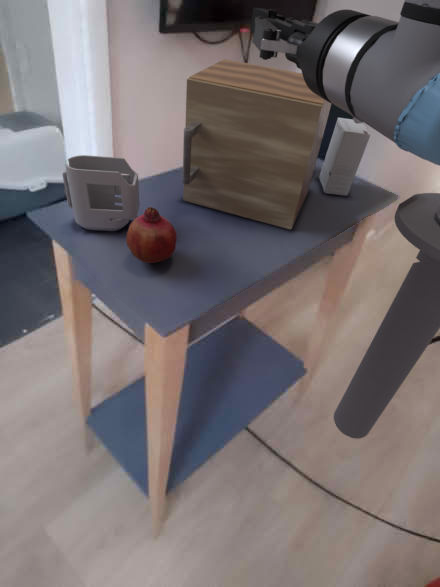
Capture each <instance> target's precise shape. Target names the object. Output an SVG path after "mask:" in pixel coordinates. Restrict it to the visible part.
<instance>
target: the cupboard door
mask: <svg viewBox="0 0 440 587" xmlns="http://www.w3.org/2000/svg"><path fill="white" fill-rule="evenodd" d="M185 94H186V95H185V97H186V98H185V126H184V128H183V143H182V144H183V146H182V147H183V149H182V180H181V181H182V182H181V183H182V185H183V195H182V200H183V202H187V203H190V204H195V205H198V206H201V207H206V208H209V209H213V210H215V211H219V212H224V213H227V214H231V215H236V216H239V217H243V218H246V219H249V220H253V221H258V222H260V223H264V224H268V225H272V226H275V227H279V228H283V229H287V230H289V231H291V230H293V227H294V225H293V222H294V218H295V214H296V210H297V206H298V202H299V198H300V194H301V190H302V186H303V182H304V178H305V174H306V170H307V166H308V162H309V158H310V154H311V150H312V146H313V142H314V138H315V134H316V130H317V126H318V122H319V118H320V114H321V110H322V105H321V104H316V103H311V102H306V101H301V100H296V99H291V98H286V97H281V96H276V95H271V94H266V93H261V92H256V91H251V90H246V89H241V88H236V87H231V86H226V85H221V84H216V83H211V82H206V81H201V80H196V79H191V78H189V77H188V78H187V79H186V93H185ZM292 226H293V227H292Z"/></svg>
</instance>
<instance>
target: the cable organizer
mask: <svg viewBox="0 0 440 587" xmlns="http://www.w3.org/2000/svg"><path fill="white" fill-rule="evenodd" d="M67 162H68V163H64V167H65V170H63V172H62V181H63V185H64V191H65V195H66V196H65V197H66V201H67V206H68V208H70V209H72V211H73V216H74V222H75V223H76V224H77V225H79V226H80V227H82V228H83V229H85V230H91V231H105V232H116V231H120V230H121V229H123V228H124V227H125V226H126V225H128V224H129V222H130V220H134V219H135V218H137V217H138V214H139V209H140V204H141V203H140V202H141V201H140V186H139V185H140V184H139V174H138V172H136V171H135V170H134V169H132V167H131V166H130V164H129V163H128V161H127V160H126V159H125V157H115V156H114V157H113V156H102V155H101V156H100V155H87V154H86V155H84V154H81V155H74V156H71V157H69V158H67Z"/></svg>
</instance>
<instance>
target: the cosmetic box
mask: <svg viewBox="0 0 440 587" xmlns="http://www.w3.org/2000/svg"><path fill="white" fill-rule="evenodd" d="M370 138H371V133H370V132H369V131H368V127H367V126H366V125H365V123H364V122H363V123H358V124H356V123H355V122H354V118H352V119H351V118H345V117H337V120H336V123H335V125H334V128H333V133H332V135H331V139H330V142H329V145H328V148H327V151H326V154H325V157H324V160H323V163H322V167H321V169H320V173H319V176H318V179H319V182H320V184H321V186H322V190H323V193H324V194H326V195H327V194H328V195H337V196H344V197H345V196H346V197H348V196H349V193H350V190H351V187H352V184H353V182H354V180H355V177H356V175H357V171H358V169H359V166H360V164H361V162H362V158H363V155H364V154H365V150H366V149H367V146H368V143H369V140H370Z"/></svg>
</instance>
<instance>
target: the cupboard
mask: <svg viewBox="0 0 440 587" xmlns="http://www.w3.org/2000/svg"><path fill="white" fill-rule="evenodd" d="M188 78H191V79H196V80H201V81H206V82H211V83H216V84H221V85H226V86H231V87H236V88H241V89H246V90H251V91H256V92H261V93H266V94H271V95H276V96H281V97H286V98H291V99H296V100H301V101H306V102H311V103H316V104H321V105H322V110H321V114H320V118H319V122H318V126H317V130H316V134H315V138H314V142H313V146H312V150H311V154H310V158H309V162H308V166H307V170H306V174H305V178H304V182H303V186H302V190H301V194H300V198H299V202H298V206H297V210H296V214H295V218H294V222H293V226H292V228H293V227H294V225H295V222H296V220H297V218H298V215H299V213H300V212H301V209H302V207H303V204H304V202H305V200H306V199H307V198H306V197H307V195H308V193H309V191H310V186H311V184H312V179H313V175H314V172H315V167H316V164H317V160H318V157H319V156H318V155H319V152H320V148H321V145H322V141H323V138H324V135H325V130H326V126H327V123H328V118H329V114H330V110H331V107H332V103H330V102H328V101H326V100H325V99H323V98H321V97H320V96H318V95H316V94H315V93H313V92H312V91H311V90H310V89H309V88H308V86H307V85H306V83H305V81H304V78H303V75H302V72H296V71H291V70H285V69H280V68H275V67H271V66H264V65H258V64H254V63H249V62H243V61H238V60H232V59H226V58H224V59H222V60H219V61H218V62H216V63H214V64H212V65H210V66H208V67H206V68H203V69H202V70H200V71H198V72H195V73H194V74H192V75H191V76H189V77H188Z"/></svg>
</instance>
